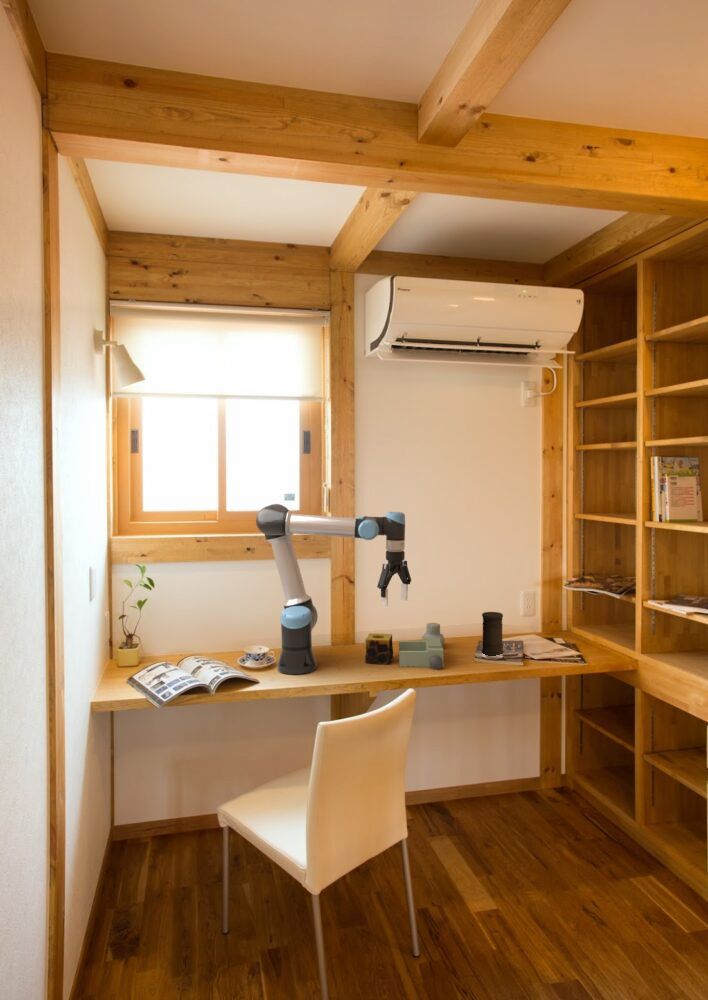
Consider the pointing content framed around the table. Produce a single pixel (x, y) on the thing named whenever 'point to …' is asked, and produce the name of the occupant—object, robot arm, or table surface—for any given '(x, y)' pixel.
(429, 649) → the green toy truck
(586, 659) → the table surface
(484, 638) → the container
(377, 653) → the olive cube with hole
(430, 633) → the air freshener
